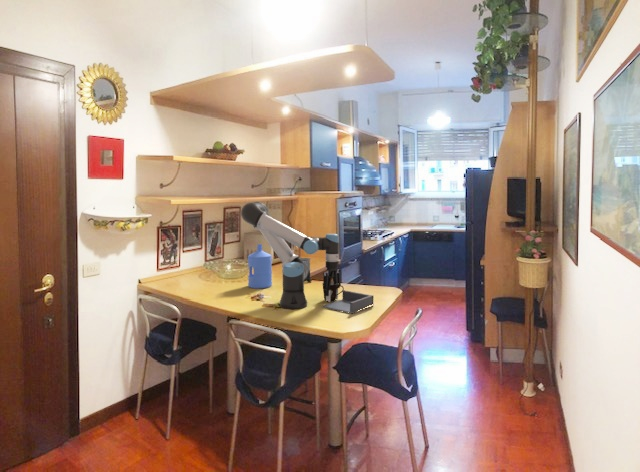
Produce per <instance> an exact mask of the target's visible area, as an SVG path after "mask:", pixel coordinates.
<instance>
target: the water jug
mask: <svg viewBox="0 0 640 472" xmlns="http://www.w3.org/2000/svg"><path fill="white" fill-rule="evenodd" d="M262 246H263V244H257V246H256V247H257V249H256V251H254V252H251V254H249V255H248V256H247V266H248V270H249V271H248V276H247V277H248V284H247V285H248V288H250V289H256V290H257V289H259V290H260V289H267V288H271V287H272V285H273V282H272V274H273V270H272V269H273V268H272V262H273V261H272V254H270V253H269V252H265V251H264V250H263V247H262Z"/></svg>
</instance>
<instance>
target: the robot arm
mask: <svg viewBox="0 0 640 472" xmlns="http://www.w3.org/2000/svg"><path fill="white" fill-rule="evenodd" d="M240 216H241V218H242V219H243V221H244V222H245V223H247V224H249V225H251V226H253V228H254V229H256V230H259V232H260V233H261V234H262V236H263V237H264V240H266V241H267V243H268V245H269V246H270V248H271V249H272V250H273V252H274V253H275V254H276V257H278V258H279V260H280V261H281V263H282V266H281V267H282V293H281V297H280V300H279V307H280V306H281V307H280V308H283V309H288V310H289V309H290V310H296V309H298V310H299V309H303V308H306V307H307V306H308V300H307V299H306V295H305V280H304V279H306V277H307V276H308V273H309V268H308V265H307V264H306V263H305V262H304V261H302V260H301V258H302V257H300V255H298V254H295V253H294V251H293V250H292V249H291V247H290V246H289V244H292V245H293V246H296V247H298V248H299V249H300V250H303V251H304V253H305V254H307V255H314V254H316V253H317V252H318V251H325V268H326V272H325V271H324V272H323V273H322V274H323V275H322V276H323V282H322V283H323V284H322V289H324V290H326V301H325V302H327V301H328V302H329V303H331V302H330V285H331V282H334V285H335V284H337V286H340V285H341V284H342V283H341V271H342V270H341V269H338V268H339V265H340V263H339V259H340V258H339V253H340V251H339V249H340V247H339V246H340V242H339V241H340V237H339V234H337V233H326V234H325V237H320V236H317V237H316V236H307V235H305V234H304V233H302V232H299V231H298V230H296V229H294V228H292V227H290V226H288V225H287V224H285V223H283V222H281V221H279V220H277V219H275V218H273V217H272V215H271V214H270V213H269V210H268V208H267V206H266V204H264V203H262V202H261V201H260V202H259V201H252V202H247V203H245V204H244V205H243V206H242V208H241V210H240ZM287 242H288V243H289V244H288V243H287ZM341 286H342V285H341ZM341 286H340V287H341ZM340 287H338V288H337V291H336V295H337V294H338V293H339V289H340ZM338 299H339V295H337V296H336V299H335V300H338ZM328 302H327V303H328Z"/></svg>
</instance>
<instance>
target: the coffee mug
mask: <svg viewBox="0 0 640 472" xmlns="http://www.w3.org/2000/svg"><path fill="white" fill-rule="evenodd" d="M322 285H323V282H322ZM338 287H341V288H342V290H340V292H338V294H337V295H338V296H339V295H340V294H341V293H343V290H344V289H345V288H344V286H343V285H340V286H337V284H335V285H334V282H333V281H331V285H330V301H333V302H335V301H336V300H337V299H336V296H337V295H336V291H337V288H338ZM322 289H323V288H322ZM338 289H339V288H338ZM323 298H324V301H325V302H327V301H326V290H324V289H323ZM334 300H335V301H334Z"/></svg>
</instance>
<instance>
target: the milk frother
mask: <svg viewBox="0 0 640 472" xmlns="http://www.w3.org/2000/svg"><path fill="white" fill-rule="evenodd" d="M300 258H301V260H302V261H304V262H305V263H306V264H307V265H308V268H309V273H308V276H307V277H306V279H304V281H307V282H311V281H313V280H312V278H311V258H309V257H300Z"/></svg>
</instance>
